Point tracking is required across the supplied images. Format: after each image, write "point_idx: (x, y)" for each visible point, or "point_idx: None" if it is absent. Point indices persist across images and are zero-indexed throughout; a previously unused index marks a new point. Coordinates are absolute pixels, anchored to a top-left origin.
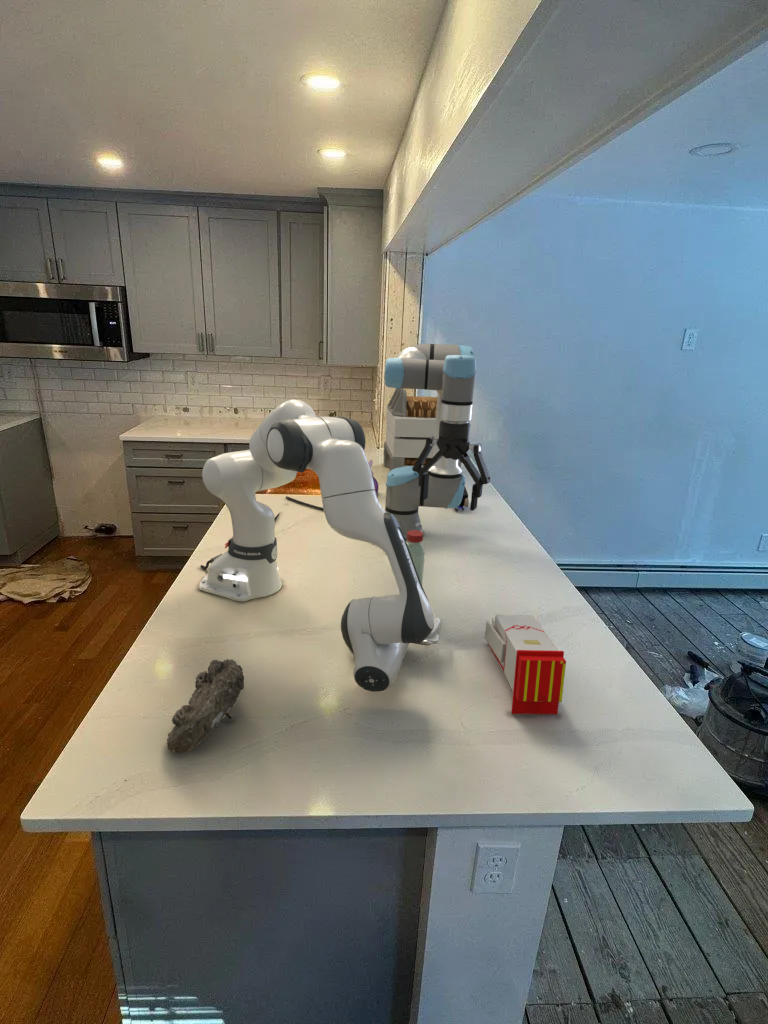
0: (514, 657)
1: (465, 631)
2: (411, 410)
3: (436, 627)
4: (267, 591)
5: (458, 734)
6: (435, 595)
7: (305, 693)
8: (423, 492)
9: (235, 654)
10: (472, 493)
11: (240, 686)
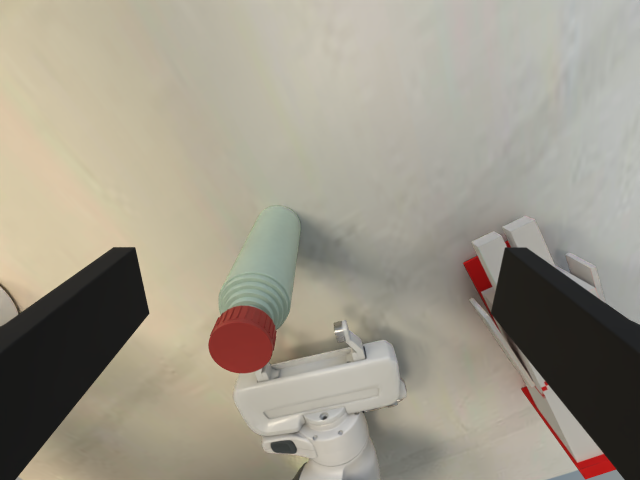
0: (561, 437)
1: (410, 240)
2: None
3: (399, 385)
4: None
5: (463, 439)
6: (294, 128)
7: (270, 463)
8: (115, 350)
9: (139, 451)
10: (575, 408)
11: None
